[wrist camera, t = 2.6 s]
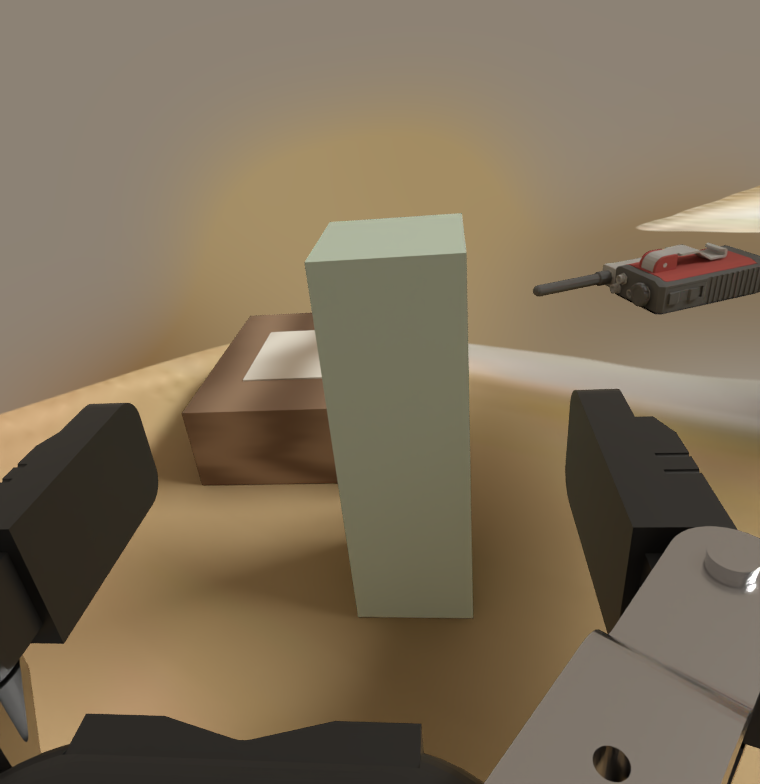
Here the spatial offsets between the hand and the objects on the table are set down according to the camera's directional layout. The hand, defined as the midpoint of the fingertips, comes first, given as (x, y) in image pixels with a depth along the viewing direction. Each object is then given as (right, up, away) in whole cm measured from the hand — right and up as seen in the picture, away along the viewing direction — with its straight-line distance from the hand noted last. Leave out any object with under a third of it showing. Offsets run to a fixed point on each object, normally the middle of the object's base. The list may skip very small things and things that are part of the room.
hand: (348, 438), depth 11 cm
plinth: (-3, -1, +30) cm, 31 cm away
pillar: (+2, -8, +17) cm, 19 cm away
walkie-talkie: (+25, +9, +45) cm, 52 cm away
